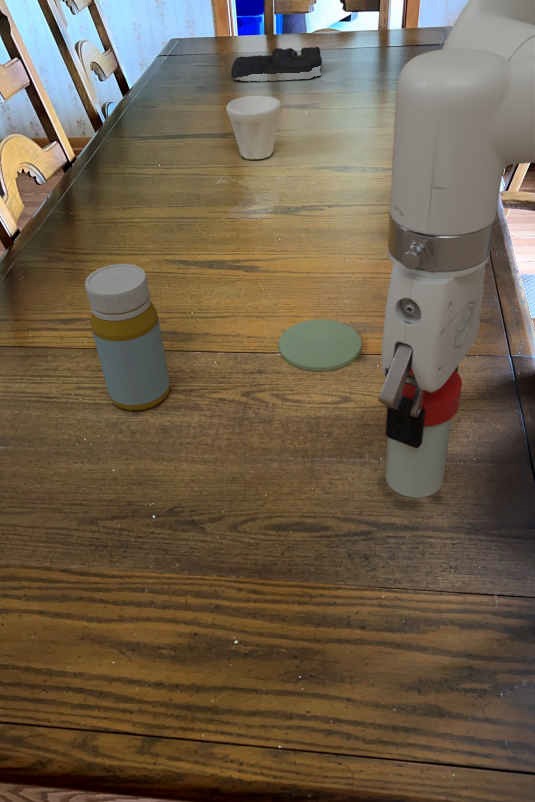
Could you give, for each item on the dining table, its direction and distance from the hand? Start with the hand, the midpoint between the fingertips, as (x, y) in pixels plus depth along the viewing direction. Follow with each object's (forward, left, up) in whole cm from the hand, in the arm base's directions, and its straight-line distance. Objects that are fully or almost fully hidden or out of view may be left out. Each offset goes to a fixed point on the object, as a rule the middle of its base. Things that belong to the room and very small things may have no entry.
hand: (420, 416), depth 64 cm
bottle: (+32, +4, -8) cm, 33 cm away
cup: (+61, -61, -8) cm, 87 cm away
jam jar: (0, 0, -8) cm, 8 cm away
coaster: (+19, -14, -8) cm, 25 cm away
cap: (0, 0, +4) cm, 4 cm away
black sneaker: (+87, -107, -8) cm, 138 cm away
